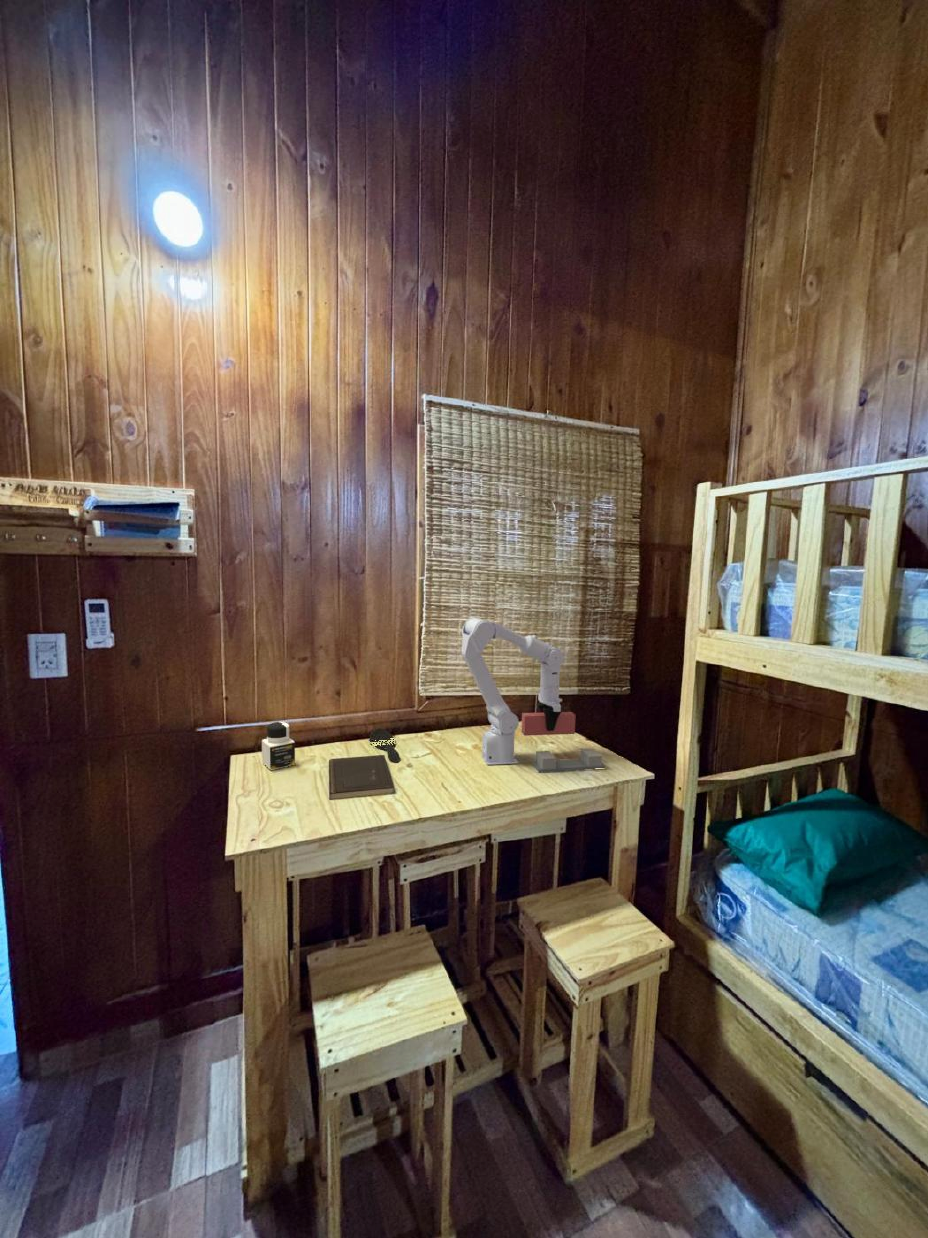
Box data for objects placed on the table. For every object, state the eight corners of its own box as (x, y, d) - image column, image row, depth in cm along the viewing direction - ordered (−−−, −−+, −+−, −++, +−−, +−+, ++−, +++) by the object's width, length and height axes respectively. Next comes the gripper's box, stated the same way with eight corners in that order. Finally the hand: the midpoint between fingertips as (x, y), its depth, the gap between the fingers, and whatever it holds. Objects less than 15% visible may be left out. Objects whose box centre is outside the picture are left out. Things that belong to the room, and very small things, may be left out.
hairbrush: (382, 757, 148) (366, 727, 171) (382, 769, 149) (366, 737, 172) (410, 753, 151) (390, 725, 174) (409, 765, 152) (390, 735, 175)
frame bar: (524, 735, 156) (525, 716, 155) (521, 732, 159) (522, 713, 159) (574, 734, 158) (575, 715, 158) (570, 730, 162) (571, 711, 161)
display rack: (538, 772, 145) (539, 759, 145) (532, 764, 151) (532, 751, 150) (604, 769, 148) (605, 755, 148) (595, 761, 154) (596, 748, 154)
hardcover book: (384, 762, 152) (384, 754, 152) (394, 795, 130) (394, 786, 130) (328, 766, 148) (328, 759, 148) (329, 801, 126) (329, 792, 126)
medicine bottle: (270, 771, 143) (269, 729, 141) (261, 763, 148) (261, 723, 147) (295, 765, 147) (295, 724, 146) (286, 758, 153) (285, 718, 151)
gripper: (571, 690, 151) (569, 735, 152) (553, 679, 165) (552, 721, 166) (548, 691, 149) (546, 736, 151) (532, 680, 164) (531, 721, 165)
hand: (548, 728), depth 158 cm, fingers closed on frame bar, 4 cm apart
